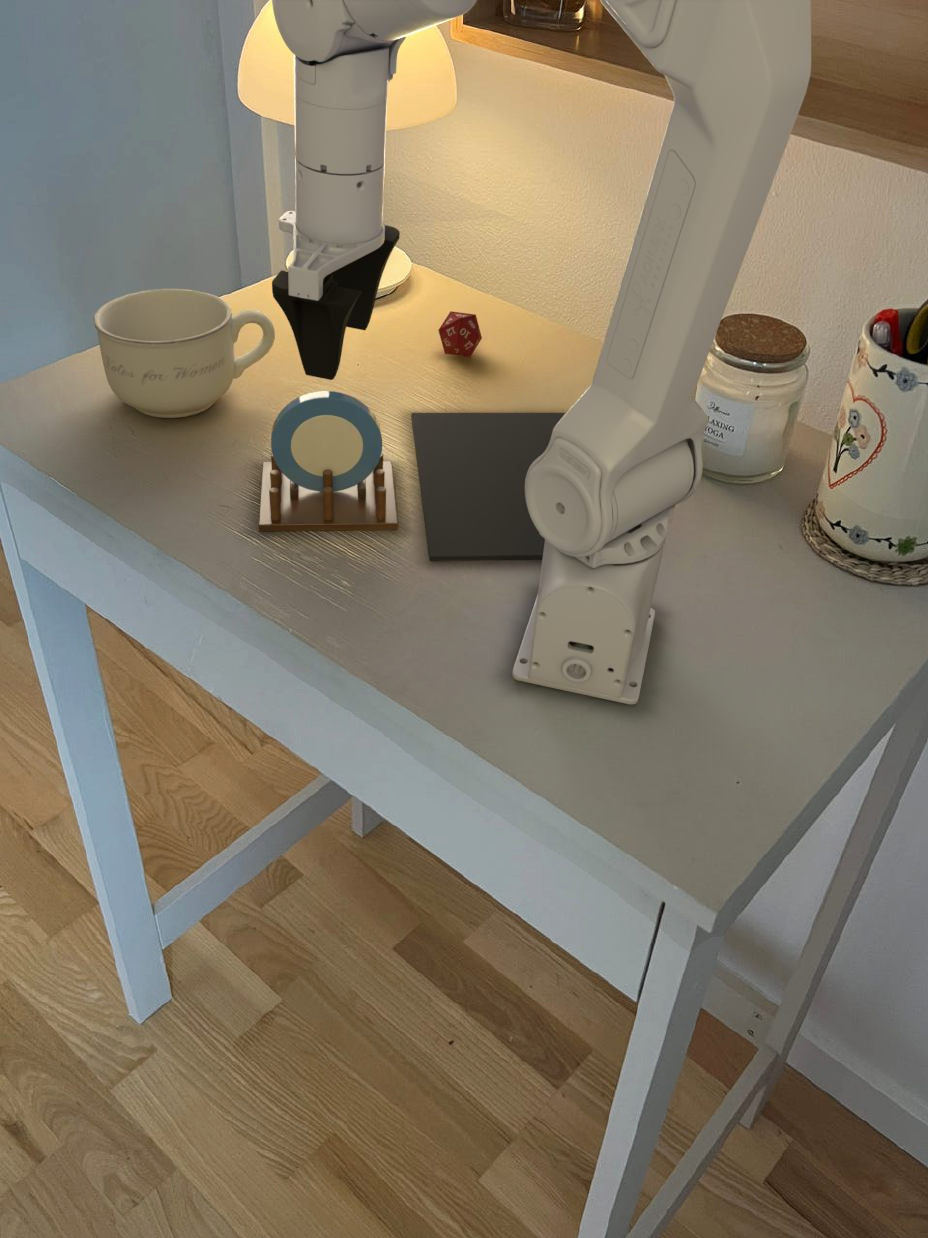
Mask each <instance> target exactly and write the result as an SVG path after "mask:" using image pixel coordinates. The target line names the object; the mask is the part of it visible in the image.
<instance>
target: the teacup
mask: <svg viewBox="0 0 928 1238" xmlns="http://www.w3.org/2000/svg"><path fill="white" fill-rule="evenodd" d="M93 324H94V328H95V329H96V332H97V337H98V338H97V339H98V345H99V350H100V355H101V361H102V364H103V369H104V373H105V377H106V380H107V383H108V386H109V387H110V390H111V391H112V392H113V394H114V395H115V396H116V397H117V398H118V399H119V400H120V401H122V402H123V403H124V404H126V405H128V406H129V407H132V408H134V409H135V410H137V411H138V412H140V413H141V414H144V415H147V416H149V417H155V418H161V419H178V418H185V417H187V418H188V417H190V416H195V415H197V414H200V413H202V412H205V411H207V410H208V409H209V408H211V407H212V406H213V405H214V404H215V403H216V402H217V401H218V400H220V399H221V397H223V396H224V395H225V394H226V393H227V391H228V390H229V389H230V387H231V385H232V383H233V380H236V379H238V378H241V376H242V375H243V373H244V371H245V370H246V369H248V368H250V367H251V366H253V365H254V364H255V363H257V362H259V361H260V360H261V359H263V358H264V357H265V356H266V355H267V354H268V353H269V352H270V350H271V349H272V347H273V345H274V342H275V339H276V334H275V333H276V331H275V328H274V324H273V322H272V320H271V319H270V317H269V316H268V315H267V314H266V313H264V312H263V311H261V310H258V309H255V308H254V309H253V308H250V309H249V308H248V309H243V310H241V311H239V312H237V313H236V314H235V315H233V312H232V308H231V306H230V305H229V304H228V303H227V302H226V301H225V300H224V299H222V298H221V297H219V296H217V295H214V294H211V293H207V292H204V291H200V290H193V289H187V288H186V289H184V288H158V289H147V290H141V291H139V292H131V293H128V294H125V295H121V296H119V297H116V298H114V299H111V300H110V301H108V302H107V303H105V304H103V305H102V306H101V307H100V308H99V309H98V310H97V311H96V312H95V314H94V316H93ZM249 324H256V325H258V326H259V327H260V328H261V331H262V338H261V340H259V342H258V344H256V345H255V346H254V347H253V348H252V349H251V350H249V351H248V352H246V353H244V354H242V355H240V356H237V357H235V343H237V341H238V338H239V333H240V331H241V329H242V328H243V327H245V325H249Z"/></svg>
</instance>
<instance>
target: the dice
mask: <svg viewBox="0 0 928 1238" xmlns="http://www.w3.org/2000/svg"><path fill="white" fill-rule="evenodd" d="M438 334H439V337H440V338H439V339H440V342H441V344H442V345H441V346H442V348H443V351H444V354H445V355H451V356H457V357H458V356H459V357H467V358H471V357H472V355H473V353H474V352H475V350H476V349H477V347H478V345H479V344H480V342H481V341H482V339H483V336H482V332H481V328H480V325H479V321H478V318H477V314H474V313H468V312H467V313H466V312H458V311H450V312H449V313H448V314H447V316H446V318H445V319H444V321H443V322H442V324H441V325H440V327H439V329H438Z"/></svg>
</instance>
